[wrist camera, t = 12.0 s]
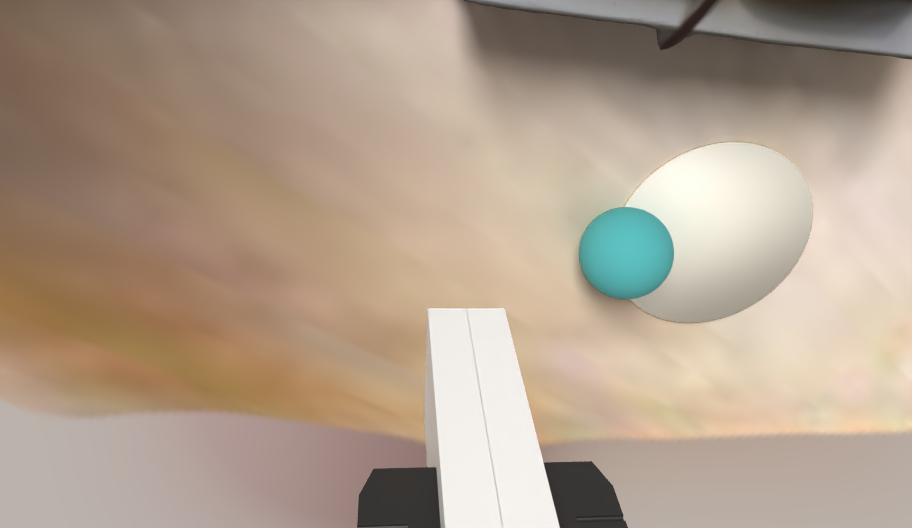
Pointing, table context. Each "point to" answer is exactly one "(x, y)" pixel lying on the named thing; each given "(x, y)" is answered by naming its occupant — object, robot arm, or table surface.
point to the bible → (752, 20)
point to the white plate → (725, 228)
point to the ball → (626, 253)
